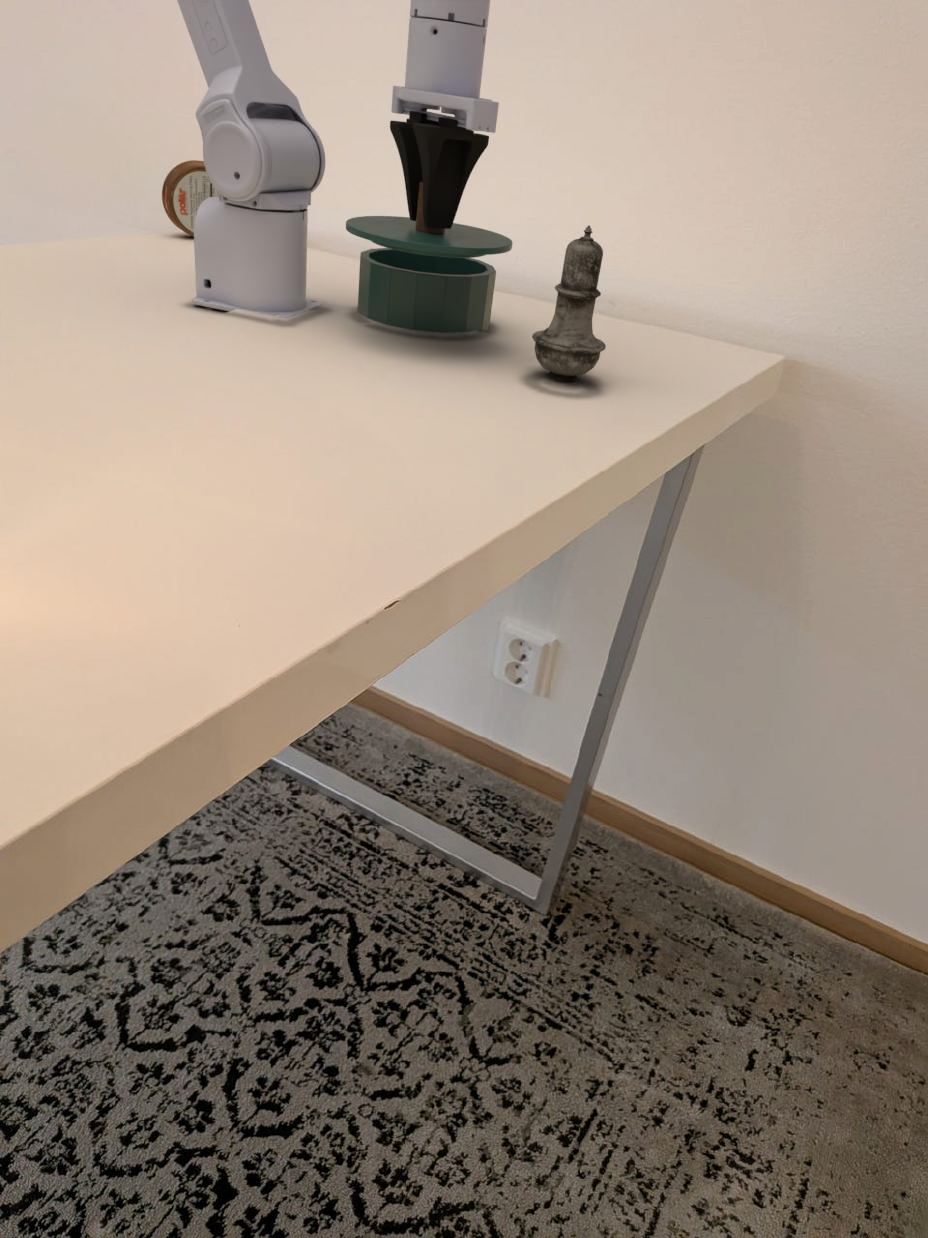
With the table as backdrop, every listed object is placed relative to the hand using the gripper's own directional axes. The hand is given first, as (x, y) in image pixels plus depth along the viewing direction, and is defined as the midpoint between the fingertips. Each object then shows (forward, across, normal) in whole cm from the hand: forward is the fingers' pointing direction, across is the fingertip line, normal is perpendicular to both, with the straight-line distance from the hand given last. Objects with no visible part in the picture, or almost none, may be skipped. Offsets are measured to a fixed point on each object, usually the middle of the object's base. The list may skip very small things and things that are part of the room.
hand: (430, 224), depth 71 cm
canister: (+10, +9, -4) cm, 14 cm away
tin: (+10, +48, +4) cm, 50 cm away
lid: (+1, 0, 0) cm, 1 cm away
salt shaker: (+10, -11, -8) cm, 17 cm away
